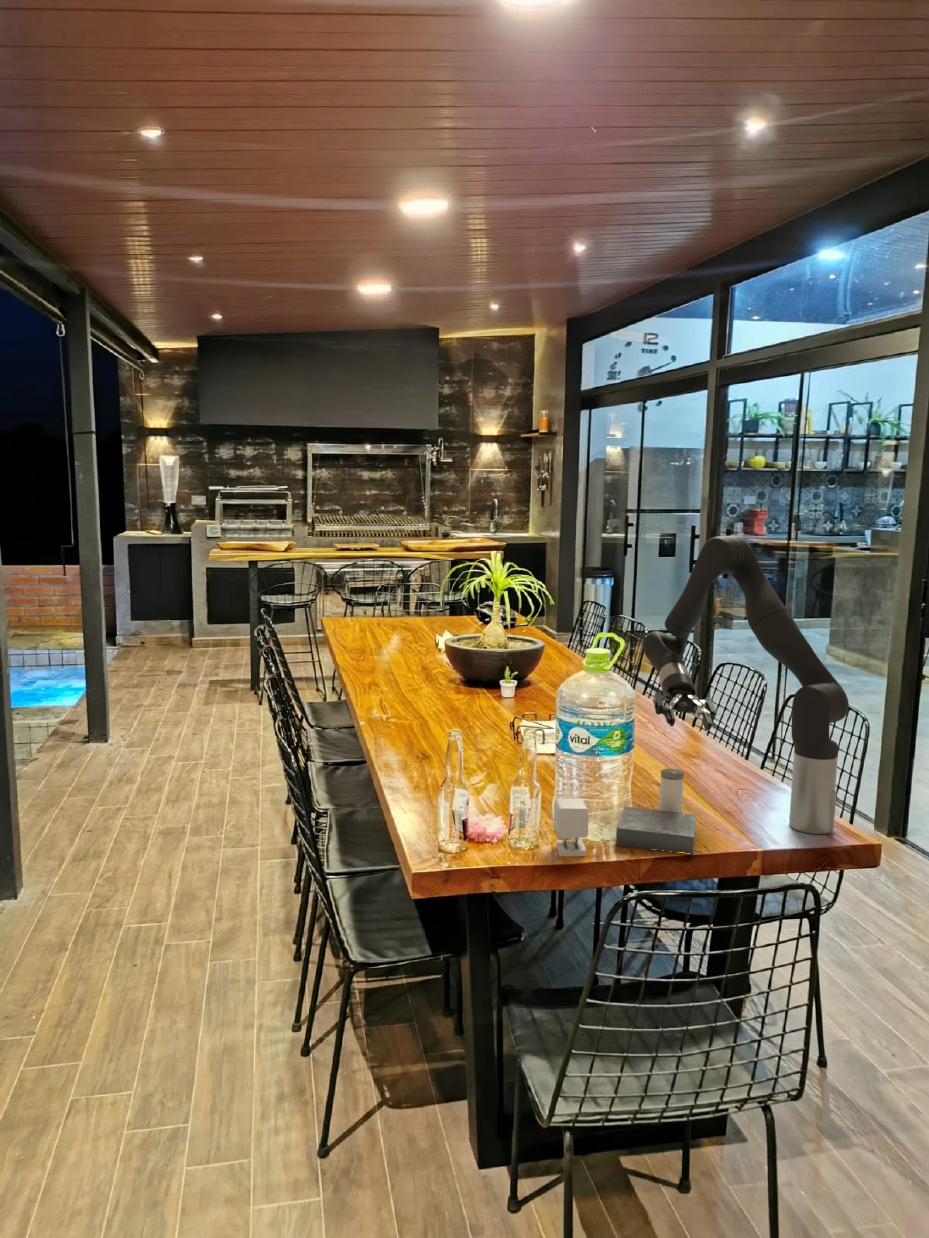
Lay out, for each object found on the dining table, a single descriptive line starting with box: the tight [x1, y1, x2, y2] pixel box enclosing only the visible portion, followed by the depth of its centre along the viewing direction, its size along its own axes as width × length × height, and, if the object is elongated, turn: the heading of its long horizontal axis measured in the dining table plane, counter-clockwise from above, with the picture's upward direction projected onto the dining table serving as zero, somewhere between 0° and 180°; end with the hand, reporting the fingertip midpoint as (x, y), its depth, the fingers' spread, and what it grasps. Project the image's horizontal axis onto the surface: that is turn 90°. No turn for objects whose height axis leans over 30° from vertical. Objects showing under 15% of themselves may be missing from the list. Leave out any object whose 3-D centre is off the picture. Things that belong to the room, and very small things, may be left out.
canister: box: [658, 768, 685, 813], centre depth 214 cm, size 5×5×11 cm
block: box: [615, 806, 697, 855], centre depth 202 cm, size 16×14×4 cm
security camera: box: [553, 798, 590, 857], centre depth 195 cm, size 6×7×10 cm
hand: (690, 725), depth 215 cm, fingers open, 8 cm apart
